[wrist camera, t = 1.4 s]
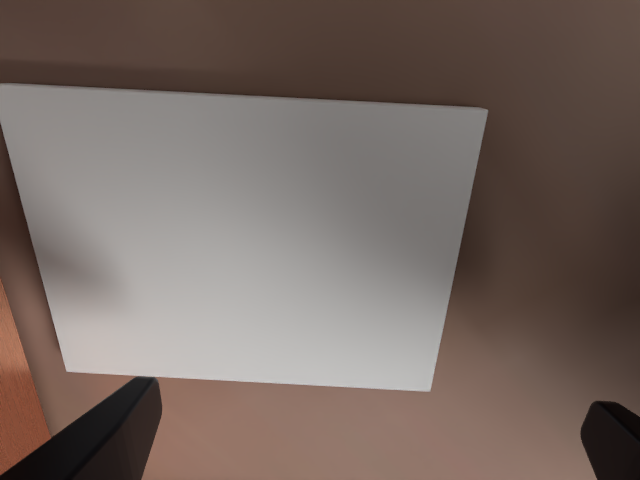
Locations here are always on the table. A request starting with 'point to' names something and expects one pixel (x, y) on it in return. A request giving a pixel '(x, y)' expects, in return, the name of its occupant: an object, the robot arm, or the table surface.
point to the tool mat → (244, 231)
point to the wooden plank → (16, 396)
